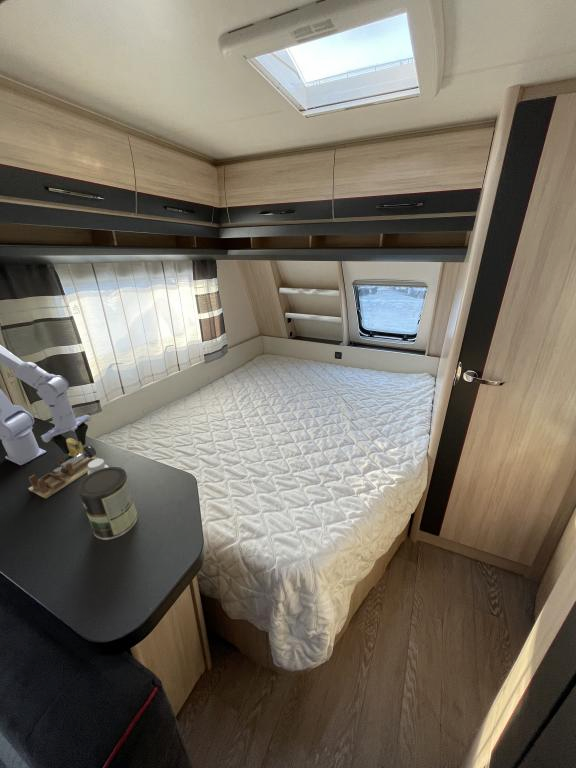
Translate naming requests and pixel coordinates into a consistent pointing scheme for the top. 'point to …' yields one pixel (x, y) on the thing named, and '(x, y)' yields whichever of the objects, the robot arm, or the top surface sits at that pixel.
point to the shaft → (77, 458)
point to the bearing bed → (59, 478)
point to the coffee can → (108, 502)
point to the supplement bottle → (96, 465)
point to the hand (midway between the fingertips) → (74, 448)
